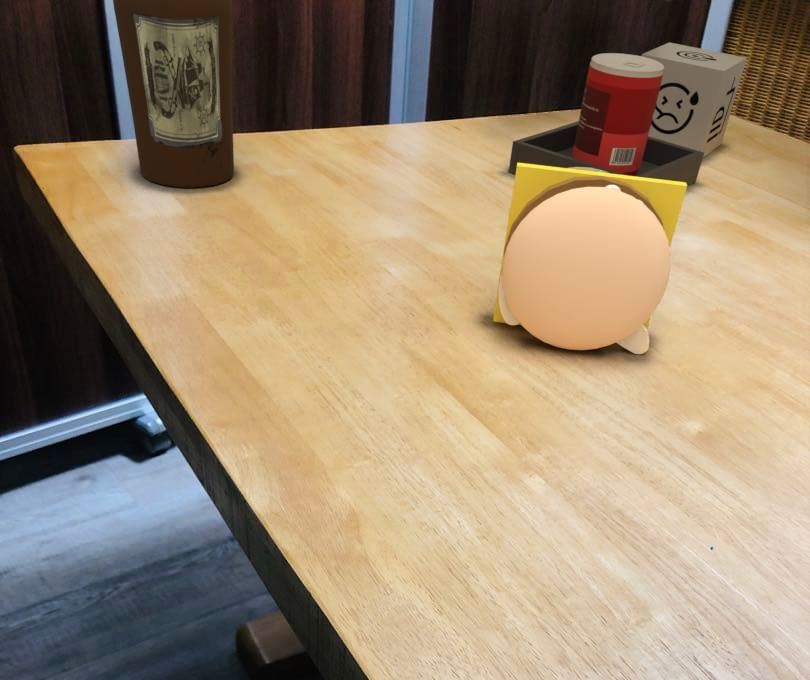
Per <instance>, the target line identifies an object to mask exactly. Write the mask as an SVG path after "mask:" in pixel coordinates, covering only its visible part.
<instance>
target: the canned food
mask: <svg viewBox="0 0 810 680" xmlns="http://www.w3.org/2000/svg"><path fill="white" fill-rule="evenodd" d="M663 71H664V65H663V64H661V63H660V62H658V61H656V60H653V59H650V58H646V57H642V55H636V54H630V53H629V54H628V53H617V52H607V53H599V54H598V53H597V54H595V55H593V56H591V60H590V62H589V67H588V73H587V76H586V82H585V86H584V92H583V97H582V103H581V107H580V113H579V114H580V115H579V118H578V121H579V123H578V128H577V133H576V139H575V144H574V149H573V154H572V158H575V159H578V160H581V161H584V162H587V163H590V164H594V165H597V166H600V167H603V168H606V169H609V170H613V171H616V172H619V173H622V174H625V175H628V176H635V175H636V174H637V172H638V170H639V168H640V166H641V162H642V158H643V154H644V150H645V146H646V142H647V138H648V134H649V130H650V126H651V122H652V118H653V114H654V110H655V106H656V102H657V98H658V94H659V90H660V86H661V81H662V77H663Z"/></svg>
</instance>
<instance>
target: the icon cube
mask: <svg viewBox="0 0 810 680" xmlns="http://www.w3.org/2000/svg"><path fill="white" fill-rule="evenodd" d="M641 56H642V57H646V58H650V59H653V60H656V61H658V62H660V63H661V64H663V65H664V71H663V77H662V81H661V86H660V90H659V94H658V98H657V102H656V106H655V110H654V114H653V118H652V122H651V126H650V130H649V134H648V136H649V137H652V138H656V139H659V140H662V141H666V142H669V143H673V144H676V145H680V146H683V147H687V148H690V149H693V150H697V151H701V152H704V155H703V158H704V157H707V155H708V154H710V153H711V152H713V151H714V150H715V149H716V148H718V147H719V146H720V145H722V143H723V140H724V136H725V133H726V131H727V127H728V123H729V119H730V117H731V113H732V109H733V107H734V103H735V100H736V96H737V94H738V89H739V86H740V83H741V79H742V76H743V73H744V70H745V67H746V63H747V60H748V57H745V56H740V55H735V54H731V53H725V52H720V51H715V50H710V49H706V48H705V49H704V48H700V47H695V46H690V45H685V44H679V43H674V42H667V43H664V44H663V45H660V46H658V47H655V48H653V49H651V50H647V51H646V52H644V53H642V54H641Z"/></svg>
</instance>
